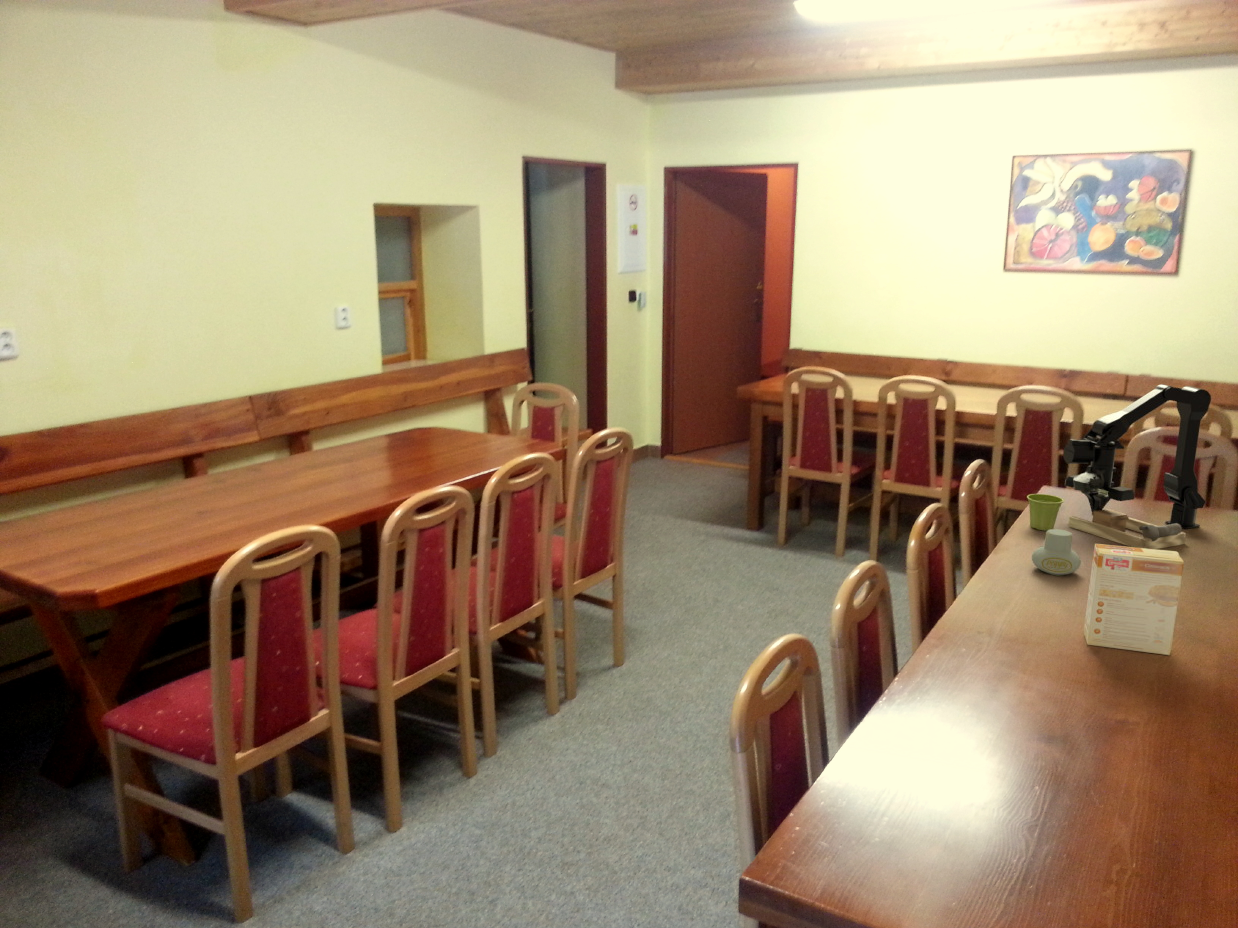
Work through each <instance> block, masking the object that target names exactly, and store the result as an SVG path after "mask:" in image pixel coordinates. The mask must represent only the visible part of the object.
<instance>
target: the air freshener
mask: <svg viewBox="0 0 1238 928" xmlns="http://www.w3.org/2000/svg"><path fill="white" fill-rule="evenodd" d="M1044 538H1045V539H1044V545H1043V546H1040V547H1038V548H1036V549H1035V550H1034V551H1033V552H1032V554H1031V561H1032V563H1033V564H1034V566H1035V567H1036V568H1038V569H1039V570H1040V571H1042V572H1044V573H1047V574H1048V575H1051V576H1064V575H1065V576H1066V575H1069V574H1072V573H1075V572H1077V570H1079V569H1080V567H1081V564H1082V561H1081V557H1080V556H1079V555H1078V554H1077V552H1076V551H1074V550H1073V549H1072V544H1073V543H1072V542H1073V534H1072V532H1070V531H1069V530H1064V529H1059V528H1058V529H1057V528H1053V529H1050V530H1048V531H1045V537H1044Z"/></svg>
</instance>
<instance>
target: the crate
mask: <svg viewBox="0 0 1238 928" xmlns="http://www.w3.org/2000/svg"><path fill="white" fill-rule="evenodd" d="M1091 516H1092V521H1091V522H1094V523H1097V524H1100V525H1103V526H1106V527H1110V528H1113V529H1116V530H1119V531H1123V532H1126V528H1125V527H1126V520H1127V519H1128V518H1129V516H1128V514H1126V513H1124V512H1120V511H1117V510H1113V509H1109V508H1106V509H1102V510H1098V511H1094V512H1092V511H1091Z"/></svg>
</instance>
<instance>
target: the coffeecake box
mask: <svg viewBox="0 0 1238 928" xmlns="http://www.w3.org/2000/svg"><path fill="white" fill-rule="evenodd" d="M1092 554H1093V556H1092V563H1091V569H1090V570H1091V571H1090V580H1089V586H1088V595H1087V601H1086V609H1085V617H1084V627H1083V634H1084V637H1085V642H1086V645H1087V646H1094V647H1103V648H1110V649H1111V648H1112V649H1119V650H1120V649H1121V650H1126V651H1127V650H1128V651H1132V652H1133V651H1135V652H1142V653H1148V654H1149V653H1151V654H1156V655H1157V654H1158V655H1164V656H1170V655H1171V651H1172V646H1173V640H1174V639H1173V638H1174V630H1175V624H1176V618H1177V611H1178V605H1179V596H1180V591H1181V585H1182V584H1181V583H1182V579H1183V578H1182V577H1183V570H1184V566H1185V565H1184V564H1185V562H1184V560H1183V558H1182V557H1181V556H1180V554H1179V552H1178V551H1175V550H1166V549H1145V548H1135V547H1131V546H1126V545H1125V546H1123V545H1111V544H1103V543H1102V544H1101V543H1094V548H1093V553H1092Z"/></svg>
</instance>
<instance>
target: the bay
mask: <svg viewBox="0 0 1238 928" xmlns="http://www.w3.org/2000/svg"><path fill="white" fill-rule="evenodd" d="M1068 519H1069V520H1068V525H1067V526H1068V527H1069V528H1072V529H1075V530H1079V531H1082V532H1085V533H1089V534H1090V535H1094V536H1097V537H1101V538H1104V539H1106V540H1109V541H1112V542H1116V543H1118V544H1122V545H1125V546H1127V547H1135V548H1145V549H1156V550H1160V549H1164V548H1169V547H1176V546H1181V545H1185V542H1186V535H1187V533H1186V532H1184V531H1183V528H1182V527H1181V525H1179V524H1177V523H1176V524H1166V525H1165V524H1164V525H1156V524H1153V523H1151V522H1146V521H1144V520H1139V519H1136V518H1132V517H1129V518H1128V519H1127V520H1126V527H1125V529H1128V530H1132V531H1135V532H1137V533H1142V537H1141V536H1138V535H1135V534H1132V533H1129V532H1126V531H1125V532H1123V531H1119V530H1116V529H1113V528H1110V527H1106V526H1103V525H1100V524H1097V523H1094V522H1092V521H1090V520H1088V519H1083V518H1080V517H1077V516H1069V518H1068Z"/></svg>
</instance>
